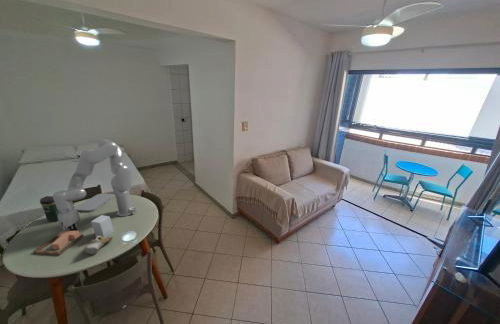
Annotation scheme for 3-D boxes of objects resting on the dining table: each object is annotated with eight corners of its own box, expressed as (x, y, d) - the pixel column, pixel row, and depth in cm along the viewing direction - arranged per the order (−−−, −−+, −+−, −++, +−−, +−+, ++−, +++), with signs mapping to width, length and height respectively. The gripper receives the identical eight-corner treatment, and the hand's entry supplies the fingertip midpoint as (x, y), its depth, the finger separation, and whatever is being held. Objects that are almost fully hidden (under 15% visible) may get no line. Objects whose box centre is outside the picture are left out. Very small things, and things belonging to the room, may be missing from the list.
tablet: (73, 211, 154) (72, 209, 153) (99, 195, 178) (99, 193, 177) (92, 212, 153) (92, 210, 152) (116, 196, 177) (115, 194, 176)
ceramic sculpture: (76, 245, 109) (95, 228, 123) (79, 257, 111) (98, 240, 126) (95, 245, 109) (112, 229, 124) (98, 257, 112) (114, 240, 126)
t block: (80, 235, 128) (78, 230, 127) (65, 249, 117) (63, 243, 116) (64, 235, 128) (62, 230, 126) (47, 249, 116) (45, 244, 115)
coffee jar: (67, 216, 148) (59, 195, 141) (56, 222, 140) (48, 200, 134) (56, 214, 148) (48, 194, 142) (45, 221, 141) (36, 199, 135)
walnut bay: (83, 236, 128) (83, 234, 127) (59, 255, 113) (58, 253, 112) (60, 234, 129) (60, 232, 128) (33, 253, 114) (32, 251, 113)
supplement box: (114, 231, 132) (110, 216, 128) (104, 239, 126) (99, 223, 121) (105, 229, 134) (101, 214, 130) (95, 237, 127) (90, 221, 123)
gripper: (71, 202, 131) (79, 224, 137) (48, 215, 117) (58, 239, 123) (82, 203, 130) (89, 225, 136) (60, 216, 116) (69, 240, 122)
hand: (74, 231), depth 130 cm, fingers closed
